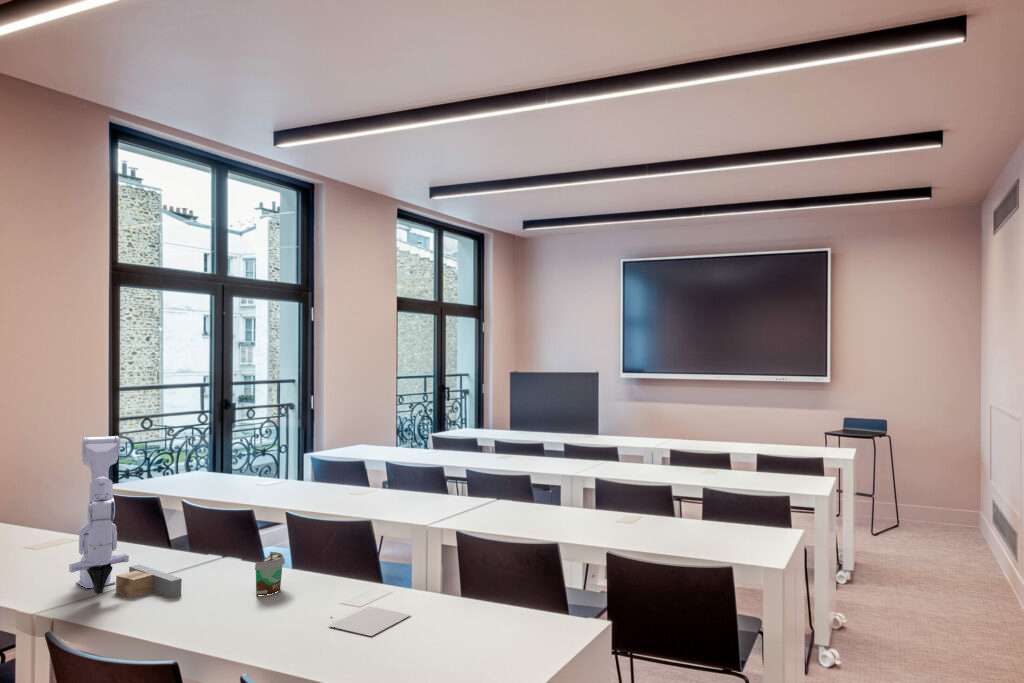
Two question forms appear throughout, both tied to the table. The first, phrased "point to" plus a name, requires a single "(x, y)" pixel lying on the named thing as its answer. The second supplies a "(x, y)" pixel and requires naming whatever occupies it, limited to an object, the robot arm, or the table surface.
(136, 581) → the tan block
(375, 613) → the grey flat panel
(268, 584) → the food container
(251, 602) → the table surface
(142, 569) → the gray rectangular bar
